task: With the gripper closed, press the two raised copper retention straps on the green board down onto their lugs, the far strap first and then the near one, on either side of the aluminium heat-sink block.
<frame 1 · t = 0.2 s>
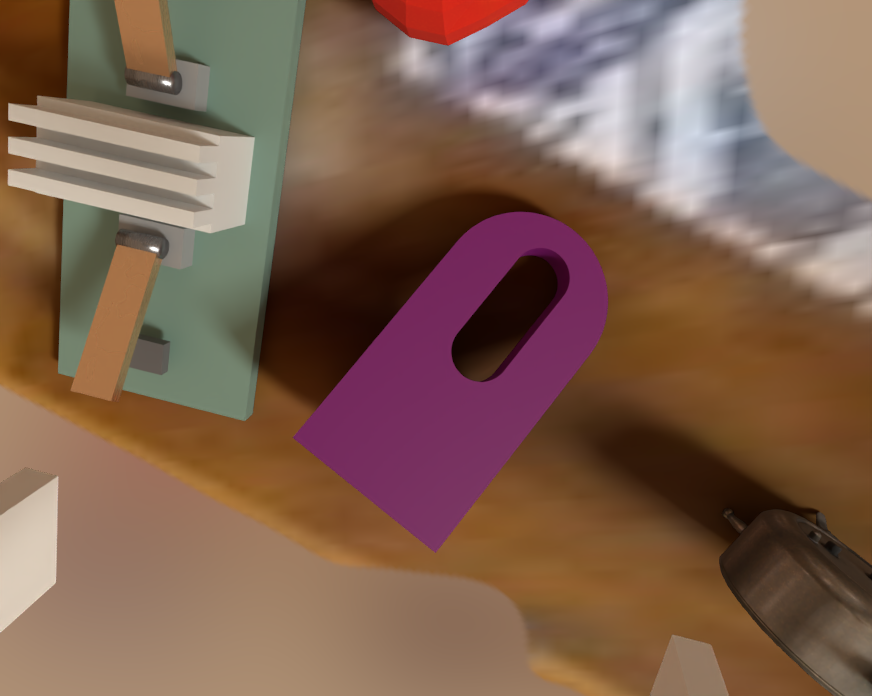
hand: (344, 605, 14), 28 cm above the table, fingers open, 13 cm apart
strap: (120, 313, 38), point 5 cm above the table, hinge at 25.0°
mounting bracket: (470, 344, 42), on the table
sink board: (178, 162, 41), on the table
alarm clock: (791, 534, 42), on the table
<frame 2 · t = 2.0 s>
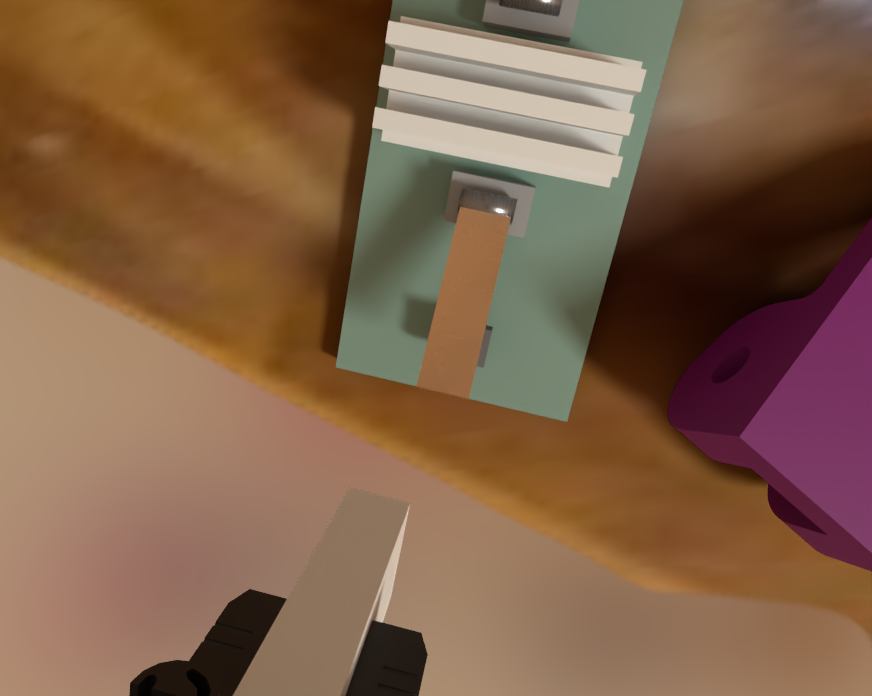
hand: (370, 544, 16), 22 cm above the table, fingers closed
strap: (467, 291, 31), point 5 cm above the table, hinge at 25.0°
mounting bracket: (856, 325, 35), on the table
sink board: (511, 109, 34), on the table
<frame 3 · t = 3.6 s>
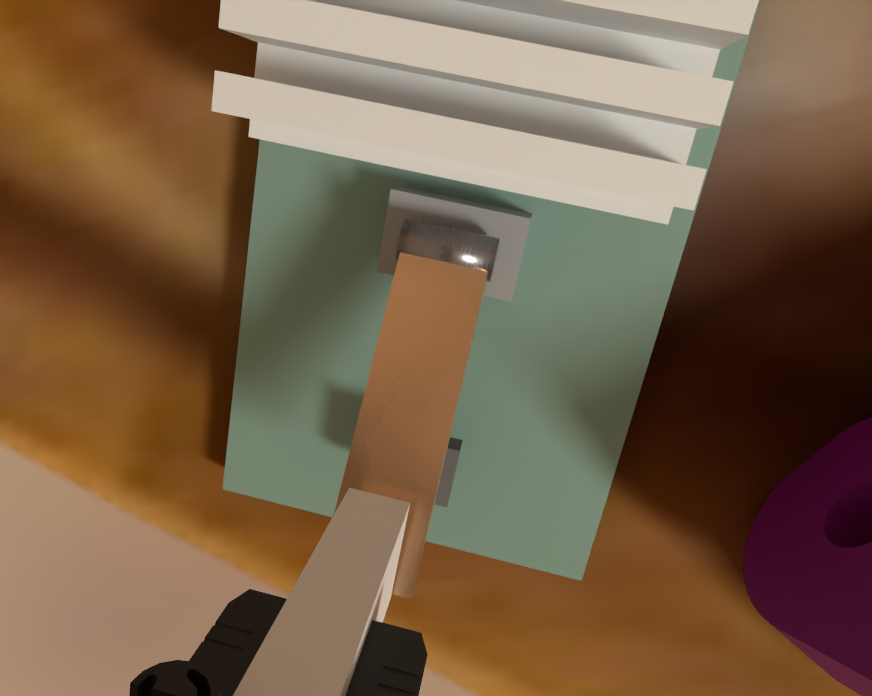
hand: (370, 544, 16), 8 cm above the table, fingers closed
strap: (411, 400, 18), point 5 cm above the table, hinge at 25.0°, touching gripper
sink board: (492, 86, 20), on the table
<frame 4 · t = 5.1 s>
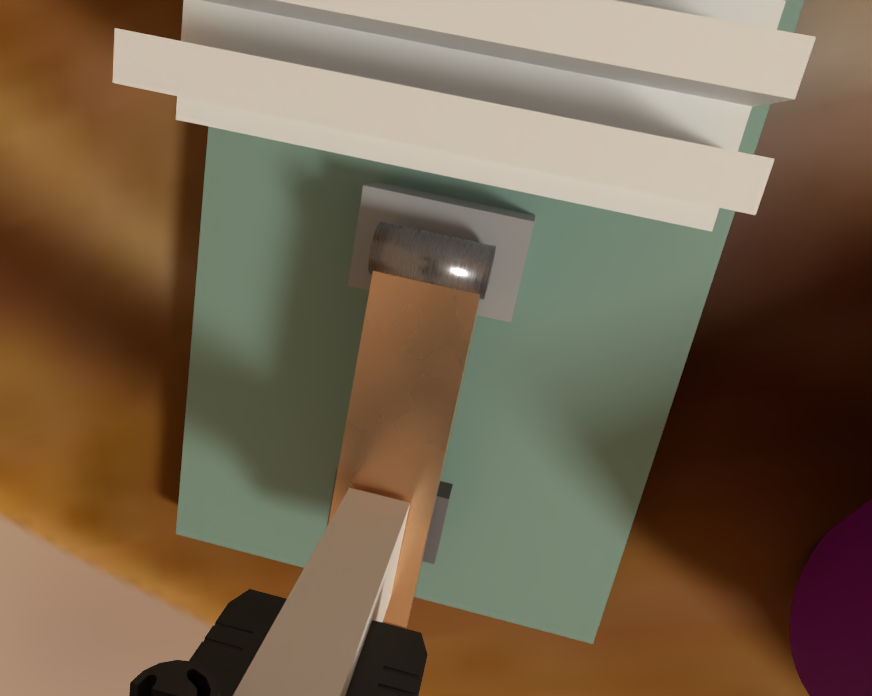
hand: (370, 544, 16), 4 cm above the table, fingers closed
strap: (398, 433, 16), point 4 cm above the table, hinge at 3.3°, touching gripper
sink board: (487, 61, 17), on the table
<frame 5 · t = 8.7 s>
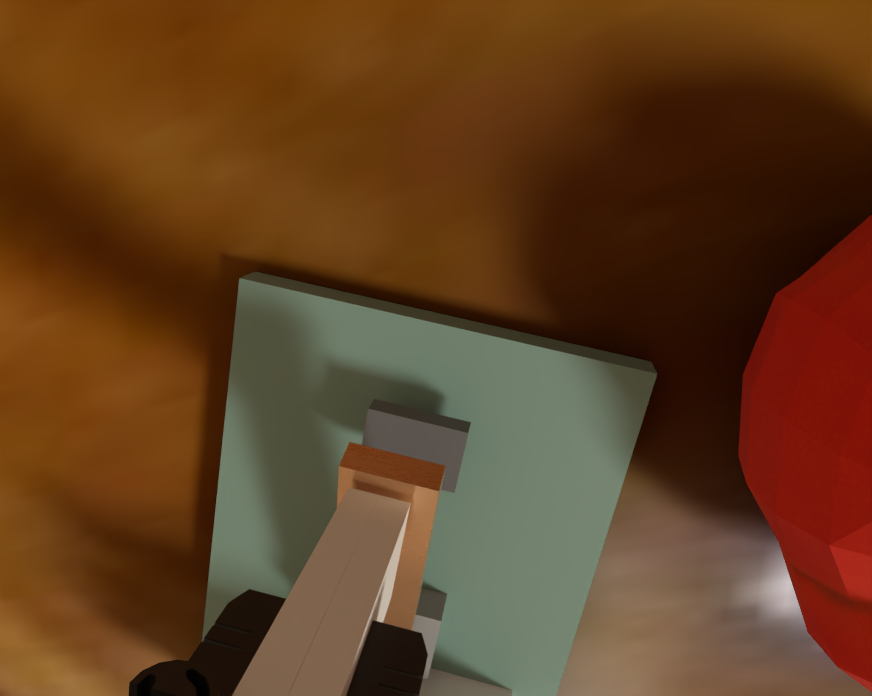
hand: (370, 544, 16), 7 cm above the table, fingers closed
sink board: (372, 682, 26), on the table
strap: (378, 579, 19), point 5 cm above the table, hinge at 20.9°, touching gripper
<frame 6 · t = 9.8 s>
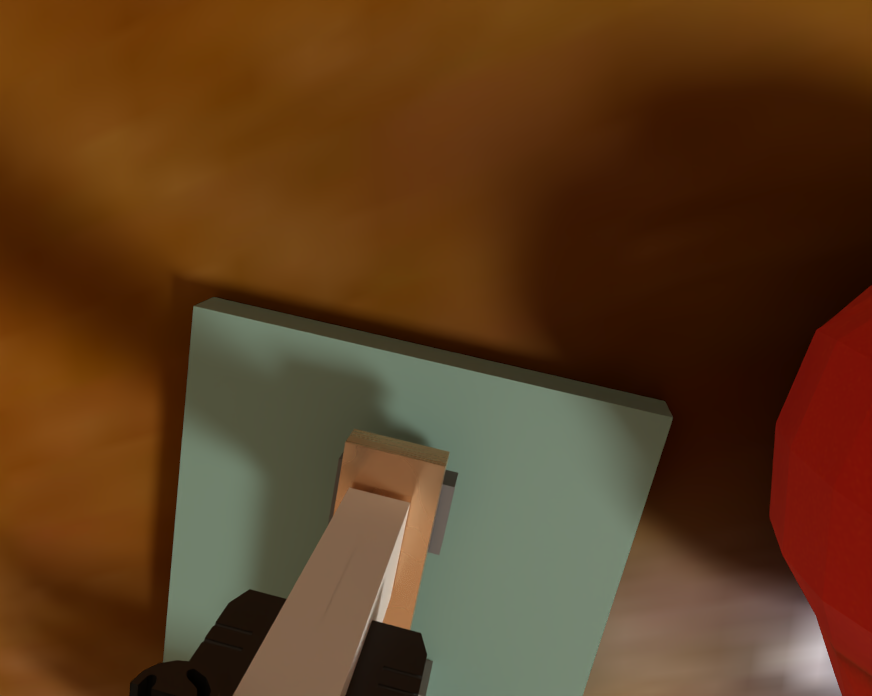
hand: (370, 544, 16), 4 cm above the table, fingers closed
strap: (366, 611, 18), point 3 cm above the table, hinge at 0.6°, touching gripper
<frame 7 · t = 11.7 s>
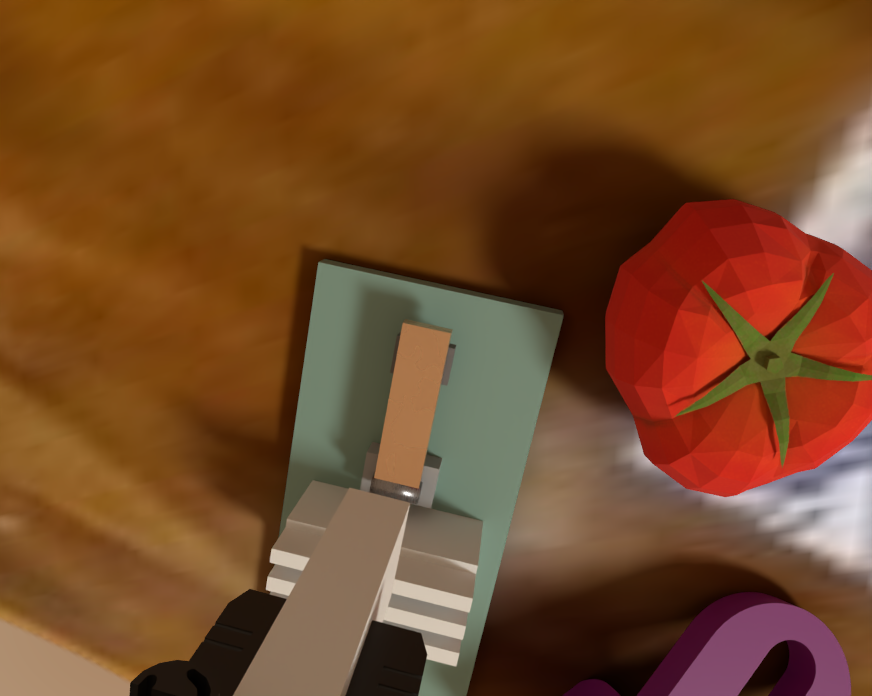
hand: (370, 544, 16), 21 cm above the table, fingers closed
mounting bracket: (682, 688, 41), on the table
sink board: (393, 527, 40), on the table
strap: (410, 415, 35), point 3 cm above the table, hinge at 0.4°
tomato: (719, 324, 35), on the table
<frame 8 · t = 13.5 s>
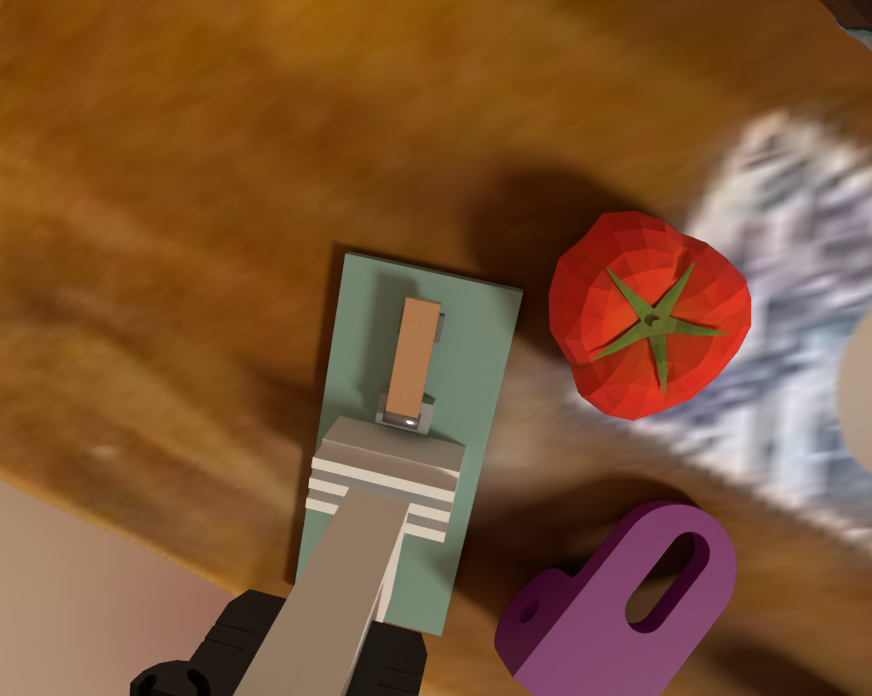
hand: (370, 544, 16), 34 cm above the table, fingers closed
mounting bracket: (619, 576, 55), on the table
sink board: (399, 452, 54), on the table
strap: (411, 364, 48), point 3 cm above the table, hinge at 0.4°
tomato: (637, 299, 48), on the table
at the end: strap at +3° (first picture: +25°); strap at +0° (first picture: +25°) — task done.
